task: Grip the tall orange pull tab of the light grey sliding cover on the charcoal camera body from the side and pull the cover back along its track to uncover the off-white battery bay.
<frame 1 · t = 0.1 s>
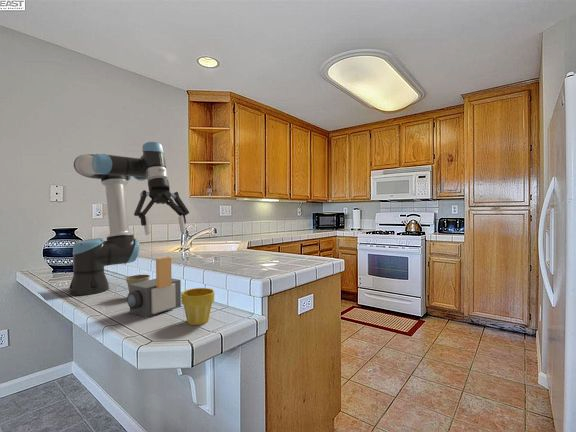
hand: (166, 233, 113), 28 cm above the worktop, tool tilted 20°, fingers open, 13 cm apart
plant pot: (198, 322, 98), on the worktop
camera body: (156, 309, 111), on the worktop
flower pot: (138, 297, 127), on the worktop
sliding cover: (164, 284, 107), point 10 cm above the worktop, slide at 0.0 cm
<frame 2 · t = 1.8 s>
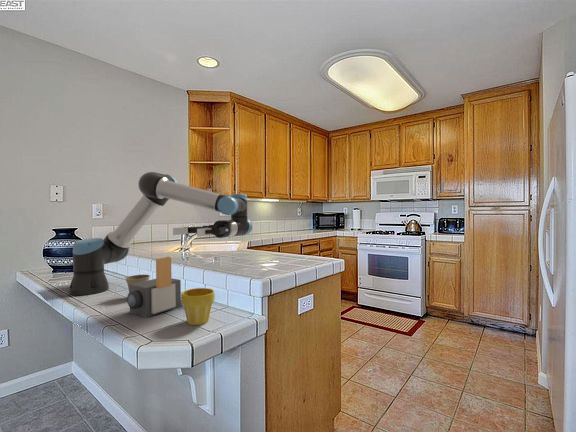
hand: (185, 232, 114), 28 cm above the worktop, tool horizontal, fingers open, 13 cm apart
nothing on the worktop moved.
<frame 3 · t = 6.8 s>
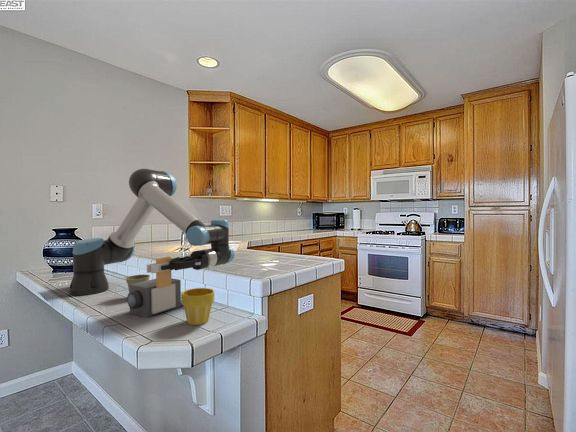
hand: (149, 269, 102), 16 cm above the worktop, tool horizontal, fingers closed on sliding cover, 2 cm apart
sliding cover: (164, 284, 107), point 10 cm above the worktop, slide at 0.0 cm, touching gripper
everything else where it was.
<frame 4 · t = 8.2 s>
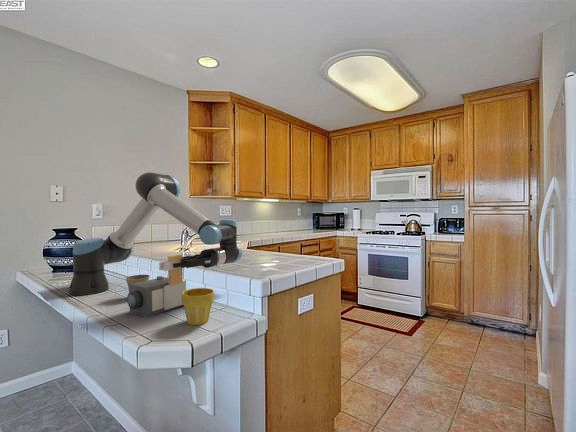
hand: (162, 266, 106), 17 cm above the worktop, tool horizontal, fingers closed on sliding cover, 2 cm apart
sliding cover: (175, 281, 111), point 10 cm above the worktop, slide at 4.9 cm, touching gripper
everything else where it was.
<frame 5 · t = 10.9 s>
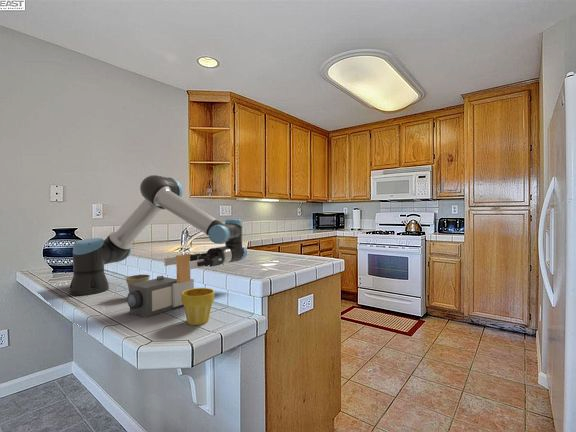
hand: (176, 263, 111), 17 cm above the worktop, tool horizontal, fingers open, 13 cm apart
sliding cover: (183, 279, 114), point 10 cm above the worktop, slide at 8.5 cm
everything else where it was.
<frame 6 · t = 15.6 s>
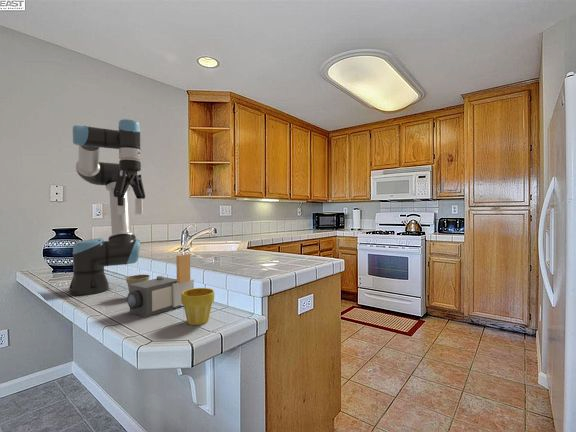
hand: (130, 214, 119), 35 cm above the worktop, tool pointing down, fingers open, 13 cm apart
nothing on the worktop moved.
at the end: sliding cover slide at 8.5 cm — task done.
